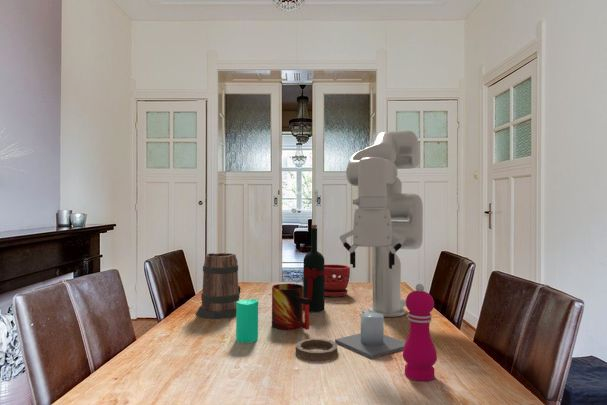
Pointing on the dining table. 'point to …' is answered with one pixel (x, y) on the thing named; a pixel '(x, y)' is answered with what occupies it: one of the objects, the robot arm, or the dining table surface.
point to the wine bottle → (314, 276)
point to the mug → (289, 307)
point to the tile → (371, 351)
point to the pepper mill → (419, 337)
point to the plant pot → (336, 280)
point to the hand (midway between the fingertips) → (372, 267)
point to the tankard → (219, 287)
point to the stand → (316, 354)
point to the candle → (247, 320)
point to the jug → (372, 328)
